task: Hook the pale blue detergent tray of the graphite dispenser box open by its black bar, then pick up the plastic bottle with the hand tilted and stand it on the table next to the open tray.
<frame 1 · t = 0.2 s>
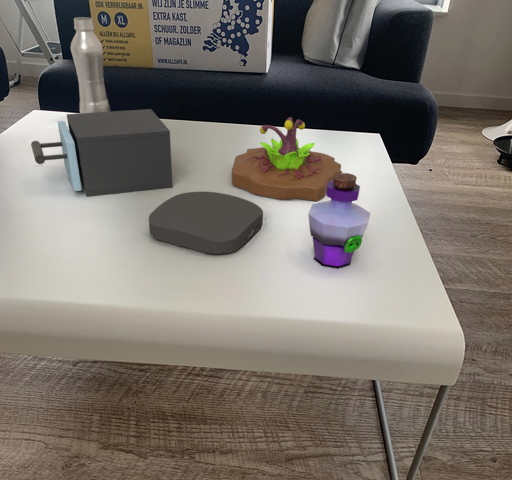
cabinet: (122, 178, 96), on the table
plastic bottle: (96, 123, 120), on the table
potion bottle: (332, 259, 77), on the table
media streaming box: (207, 229, 83), on the table
plant: (284, 179, 100), on the table
drawer: (91, 153, 92), point 5 cm above the table, slide at 0.5 cm
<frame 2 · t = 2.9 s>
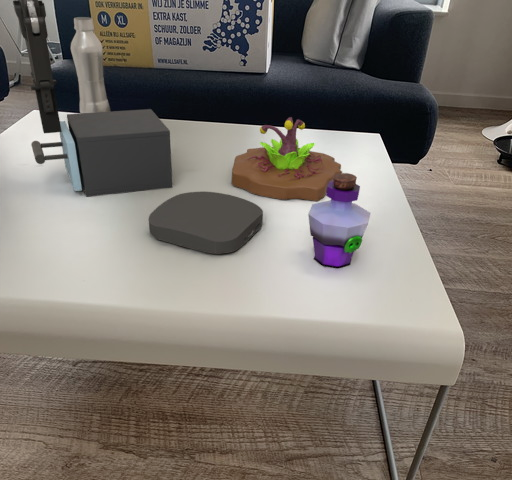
hand: (52, 131, 87), 9 cm above the table, tool pointing down, fingers closed
drawer: (92, 153, 92), point 5 cm above the table, slide at 0.4 cm, touching gripper
everything else where it was.
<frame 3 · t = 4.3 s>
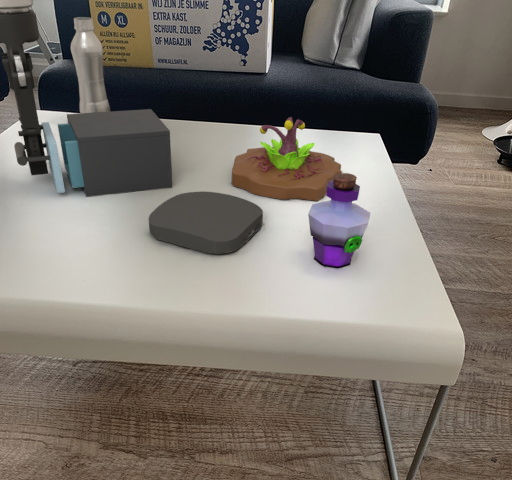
hand: (39, 173, 90), 2 cm above the table, tool pointing down, fingers closed
drawer: (75, 154, 91), point 5 cm above the table, slide at 3.1 cm, touching gripper
everything else where it was.
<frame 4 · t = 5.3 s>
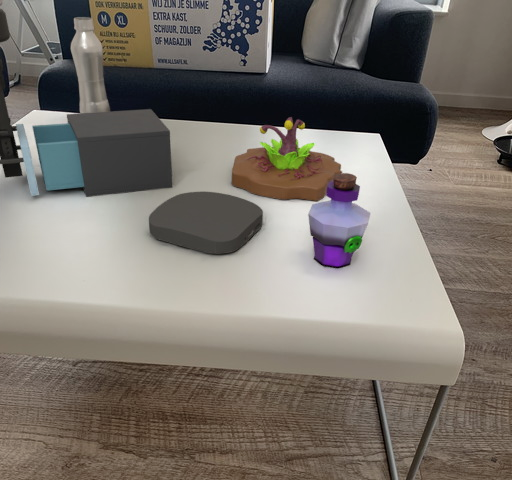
hand: (13, 175, 89), 2 cm above the table, tool pointing down, fingers closed
drawer: (50, 157, 90), point 5 cm above the table, slide at 7.1 cm, touching gripper
everything else where it was.
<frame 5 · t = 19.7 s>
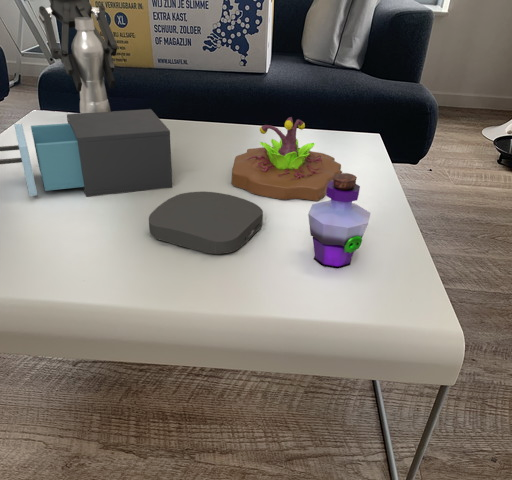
hand: (96, 85, 113), 8 cm above the table, tool tilted 45°, fingers closed on plastic bottle, 6 cm apart
plastic bottle: (96, 123, 120), on the table, touching gripper
drawer: (49, 157, 90), point 5 cm above the table, slide at 7.4 cm
everything else where it was.
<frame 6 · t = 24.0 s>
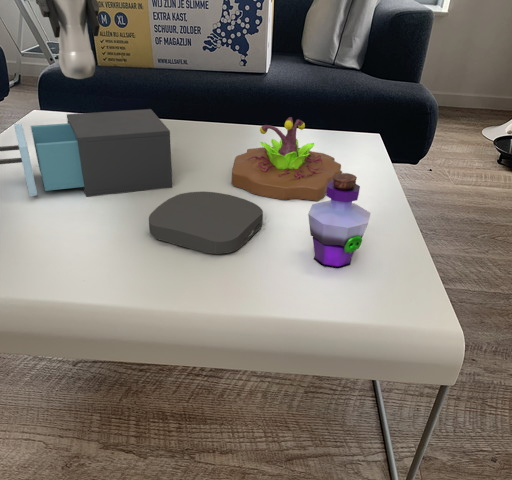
hand: (77, 31, 96), 20 cm above the table, tool tilted 45°, fingers closed on plastic bottle, 6 cm apart
plastic bottle: (79, 79, 103), point 12 cm above the table, touching gripper
everything else where it was.
when the fingers open (8 cm above the table, at t = 28.7 s): plastic bottle stays where it is, on the table.
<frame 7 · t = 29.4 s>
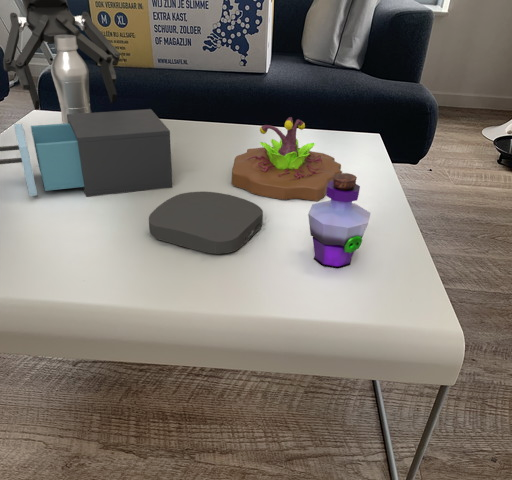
hand: (76, 102, 97), 10 cm above the table, tool tilted 45°, fingers open, 13 cm apart
plastic bottle: (82, 155, 105), on the table
everything else where it was.
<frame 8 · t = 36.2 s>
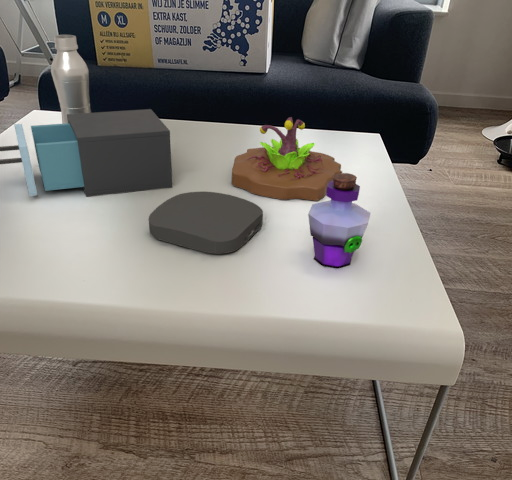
nothing on the table moved.
at the end: drawer slide at 7.4 cm; plastic bottle inside the target area on the table beside the cabinet (0.1 cm from its centre), on the table; plastic bottle tilted 0° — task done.
